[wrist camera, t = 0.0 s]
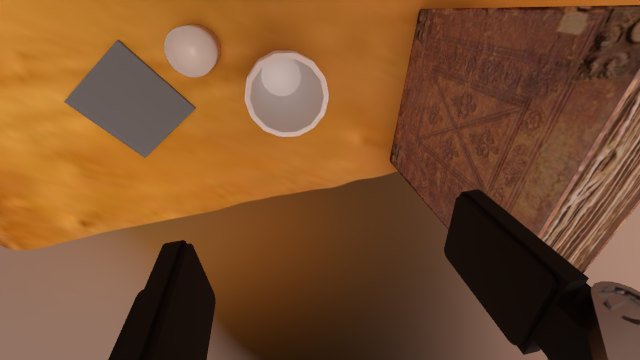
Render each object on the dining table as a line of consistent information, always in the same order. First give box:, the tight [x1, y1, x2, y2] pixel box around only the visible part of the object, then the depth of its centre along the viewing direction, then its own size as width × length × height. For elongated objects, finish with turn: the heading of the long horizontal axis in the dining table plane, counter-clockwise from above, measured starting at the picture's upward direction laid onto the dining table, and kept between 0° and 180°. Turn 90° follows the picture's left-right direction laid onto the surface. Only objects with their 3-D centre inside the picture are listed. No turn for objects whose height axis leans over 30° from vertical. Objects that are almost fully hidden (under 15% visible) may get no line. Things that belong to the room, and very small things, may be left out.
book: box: [390, 5, 640, 273], centre depth 35 cm, size 25×9×30 cm, turn 177°
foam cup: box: [244, 50, 329, 137], centre depth 36 cm, size 10×9×13 cm
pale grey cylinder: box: [164, 24, 221, 77], centre depth 36 cm, size 6×6×6 cm
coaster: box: [64, 40, 195, 158], centre depth 40 cm, size 12×12×1 cm
